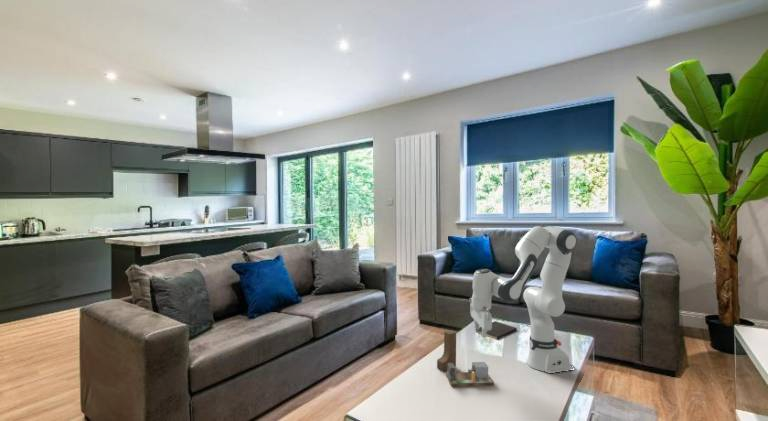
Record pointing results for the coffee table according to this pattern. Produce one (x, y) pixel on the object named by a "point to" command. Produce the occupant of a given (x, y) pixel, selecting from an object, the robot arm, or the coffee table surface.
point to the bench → (464, 378)
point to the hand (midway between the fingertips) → (480, 332)
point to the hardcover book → (498, 330)
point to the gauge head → (479, 370)
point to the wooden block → (448, 351)
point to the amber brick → (473, 376)
